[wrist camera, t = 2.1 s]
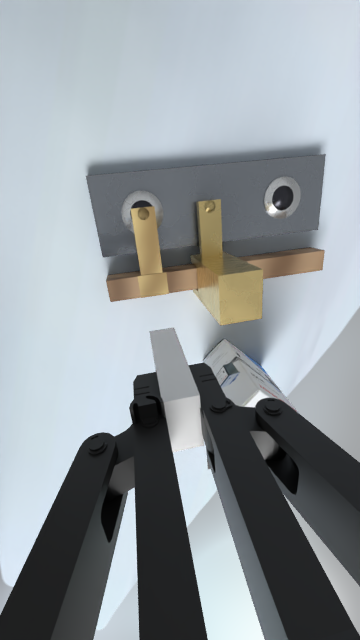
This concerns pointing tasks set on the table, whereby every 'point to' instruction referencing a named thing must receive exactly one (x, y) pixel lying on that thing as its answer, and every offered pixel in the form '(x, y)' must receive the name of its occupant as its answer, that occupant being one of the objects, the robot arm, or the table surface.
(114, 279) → the beam
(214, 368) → the ink box
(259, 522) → the robot arm
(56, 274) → the table surface
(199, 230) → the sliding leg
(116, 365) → the table surface
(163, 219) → the gray rectangular panel
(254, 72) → the table surface
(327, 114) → the table surface
